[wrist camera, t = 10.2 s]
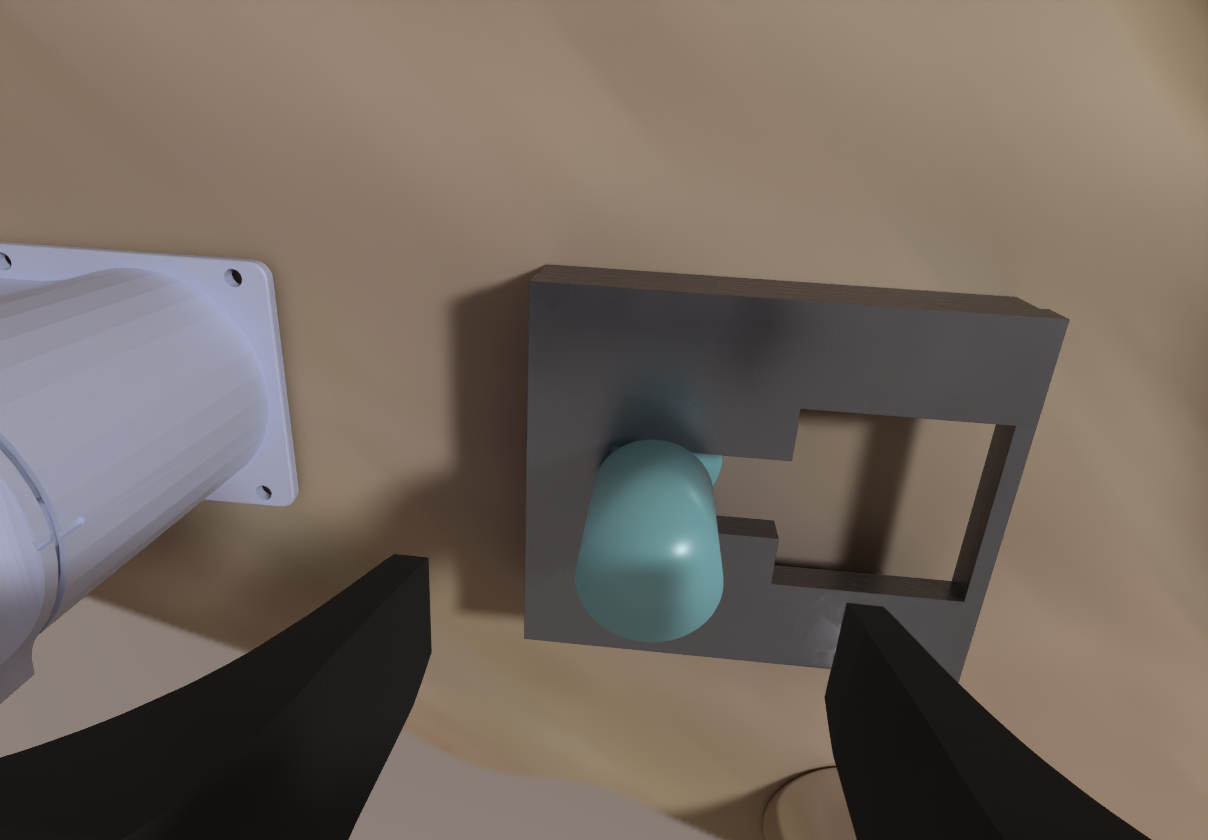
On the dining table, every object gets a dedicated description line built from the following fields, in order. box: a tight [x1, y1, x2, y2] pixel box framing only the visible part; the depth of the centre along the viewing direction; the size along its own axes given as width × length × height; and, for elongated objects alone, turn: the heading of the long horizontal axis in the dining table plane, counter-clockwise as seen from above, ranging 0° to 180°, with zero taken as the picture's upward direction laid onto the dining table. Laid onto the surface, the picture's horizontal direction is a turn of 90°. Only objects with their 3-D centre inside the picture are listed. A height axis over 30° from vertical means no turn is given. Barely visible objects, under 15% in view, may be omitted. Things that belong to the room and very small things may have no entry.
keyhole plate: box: [524, 265, 1070, 682], centre depth 21 cm, size 13×11×3 cm
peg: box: [575, 440, 723, 642], centre depth 19 cm, size 4×4×7 cm
